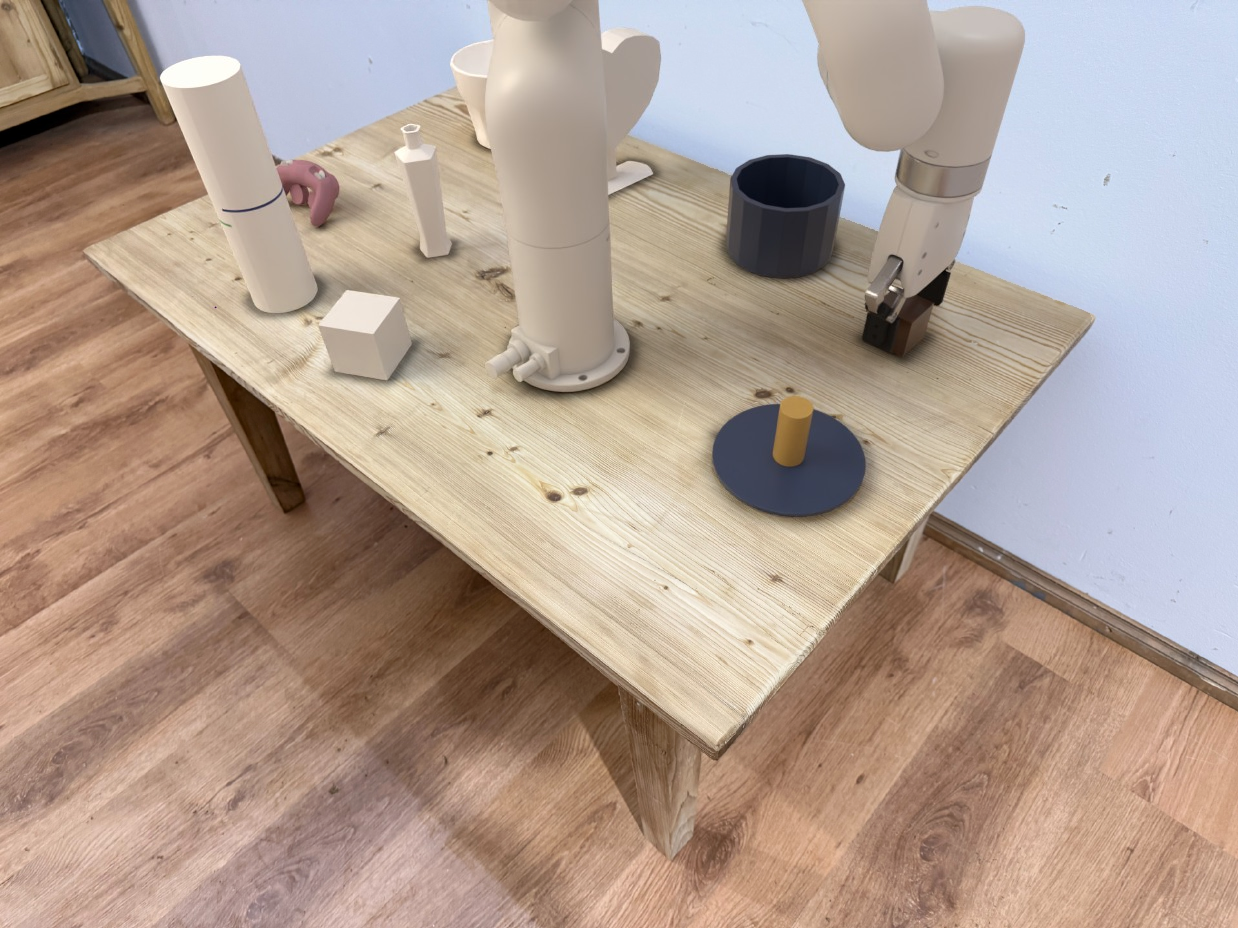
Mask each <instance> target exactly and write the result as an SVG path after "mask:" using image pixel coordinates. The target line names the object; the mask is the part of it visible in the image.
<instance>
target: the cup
mask: <svg viewBox="0 0 1238 928" xmlns="http://www.w3.org/2000/svg"><path fill="white" fill-rule="evenodd" d="M492 50H493V39H488V40H483V41H478V42H473V43H471V44H469V45H466V46H463V47H461V48H460V49H458V50H457V51H456V52H454V54H452V56H451V59H450V62H449V65H450V68H451V72H452V74H453V78H454V81H455V84H456V88H457V91H458V93H459V95H460V97H461V98H462V99H463V101H464V102H465V106H466V108H467V112H468V114H469V117H470V120H471V122H472V125H473V128H474V131H475V136H476V140H477V142H478V143H479V144H480V145H481V146H483V147H484V148H487V149H488V150H491V148H490V143H489V139H488V134H487V127H486V117H485V92H486V83H487V76H488V70H489V64H490V59H491V55H492Z"/></svg>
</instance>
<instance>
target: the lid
mask: <svg viewBox="0 0 1238 928" xmlns="http://www.w3.org/2000/svg"><path fill="white" fill-rule="evenodd" d="M711 451H712V452H711V463H712V466H713V470H714V472H715V475H716V477H717V479H718V480H719V482H720V484H721V485H722V487H724V489H725V490H726V491H727V492H728V493H729V494H730V495H731V496H733V497H734V498H735V499H736V500H738V501H739V502H740V503H742V504H744V505H745V506H747V507H750V508H752V509H754V510H756V511H758V512H762V513H765V514H767V515H772V516H776V517H783V518H795V519H796V518H798V519H799V518H812V517H817V516H821V515H824V514H828V513H830V512H832V511H835V510H837V509H839V508H841V507H842V506H844V505H846V504H847V503H848V502H849V501H850V500H851V499H852V498H854V496H856V494H857V493H858V492H859V490H860V488H861V486H862V485H863V482H864V478H865V476H866V471H867V463H866V462H867V461H866V460H867V459H866V456H865V452H864V449H863V446H862V445H861V443H860V441H859V440H858V438H857V436H856V435H855V434H854V433H853V432H852V431H851V430H850V429H849V428H848V427H847V426H846V425H845V424H843V423H842V422H841V421H839V420H838V419H837V418H835V417H833V416H831V415H829V414H827V413H825V412H823V411H820V410H818V409H816V408H814V405H813V403H812V402H811V401H810V400H809V399H808V398H807V397H804V396H800V395H790V396H787V397H785V398H784V399H782V400H781V402H780V403H771V404H764V405H758V406H755V407H752V408H749V409H746V410H744V411H741V412H739V413H738V414H736V415H734V416H733V417H732V418H730V419H728V420H727V422H725V423H724V424H723V425H722V427H721V428H720V429H719V431H718V432H717V433H716V436H715V438H714V441H713V444H712V449H711Z"/></svg>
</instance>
